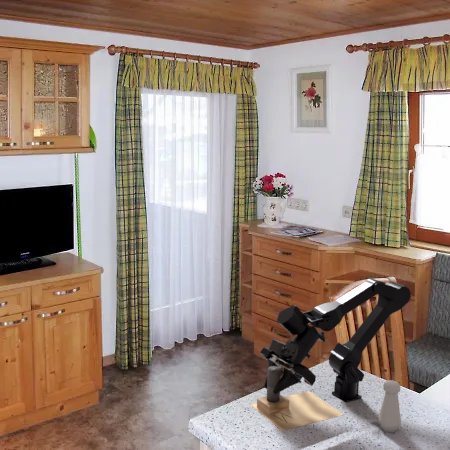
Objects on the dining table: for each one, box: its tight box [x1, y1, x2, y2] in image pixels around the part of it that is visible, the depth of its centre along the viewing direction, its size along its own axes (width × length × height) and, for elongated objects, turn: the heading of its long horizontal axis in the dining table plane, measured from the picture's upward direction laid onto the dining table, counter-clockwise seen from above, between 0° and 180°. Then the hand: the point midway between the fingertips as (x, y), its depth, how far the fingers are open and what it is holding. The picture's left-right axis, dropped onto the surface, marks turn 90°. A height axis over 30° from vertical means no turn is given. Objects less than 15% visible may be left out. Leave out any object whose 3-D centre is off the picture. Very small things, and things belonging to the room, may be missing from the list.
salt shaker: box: [378, 379, 402, 433], centre depth 153 cm, size 6×6×13 cm
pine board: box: [250, 391, 345, 432], centre depth 161 cm, size 20×16×2 cm
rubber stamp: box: [256, 366, 289, 415], centre depth 160 cm, size 7×6×12 cm
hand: (269, 390), depth 160 cm, fingers closed on rubber stamp, 4 cm apart
